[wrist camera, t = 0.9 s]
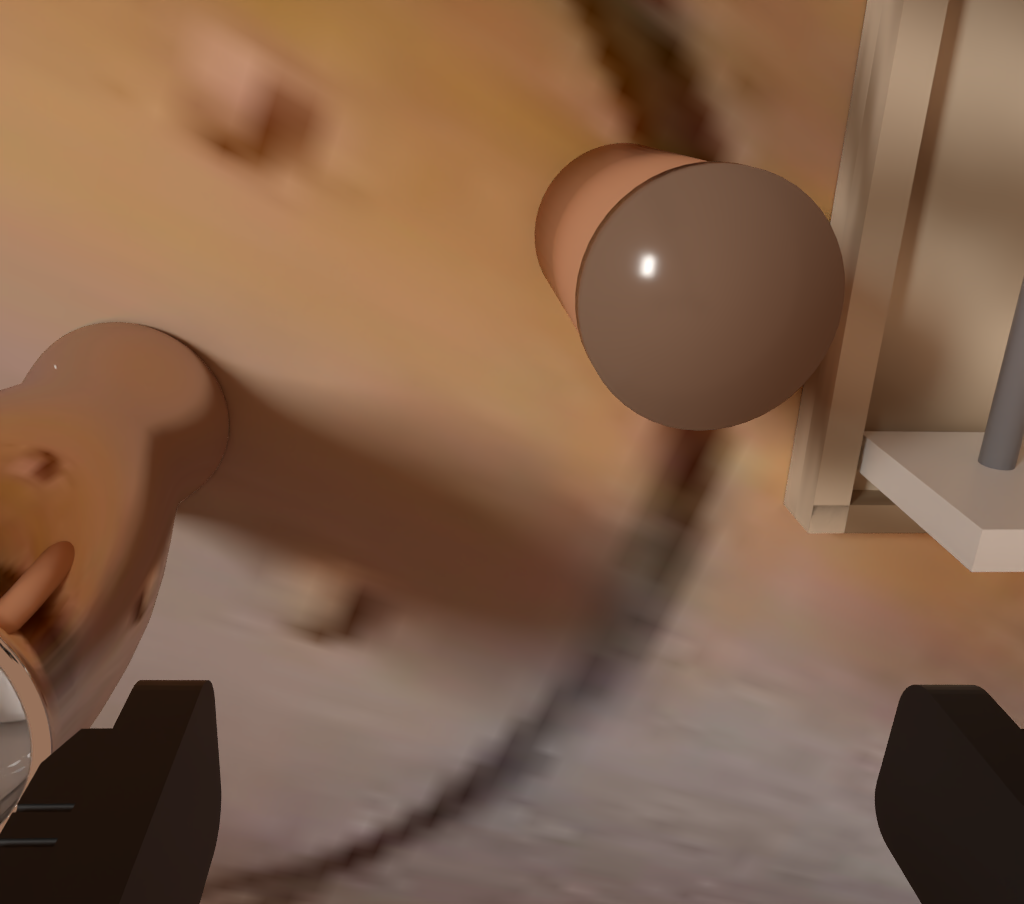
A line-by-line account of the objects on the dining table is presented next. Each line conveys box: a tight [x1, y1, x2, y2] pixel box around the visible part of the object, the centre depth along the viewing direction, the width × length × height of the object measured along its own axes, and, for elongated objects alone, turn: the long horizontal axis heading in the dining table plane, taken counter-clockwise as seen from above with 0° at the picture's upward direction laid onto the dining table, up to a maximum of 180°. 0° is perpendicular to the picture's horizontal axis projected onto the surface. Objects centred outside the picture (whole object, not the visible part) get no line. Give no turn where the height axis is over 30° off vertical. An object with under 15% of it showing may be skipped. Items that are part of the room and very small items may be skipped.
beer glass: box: [0, 322, 229, 833], centre depth 21 cm, size 7×7×15 cm
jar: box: [535, 143, 845, 430], centre depth 23 cm, size 5×5×10 cm
